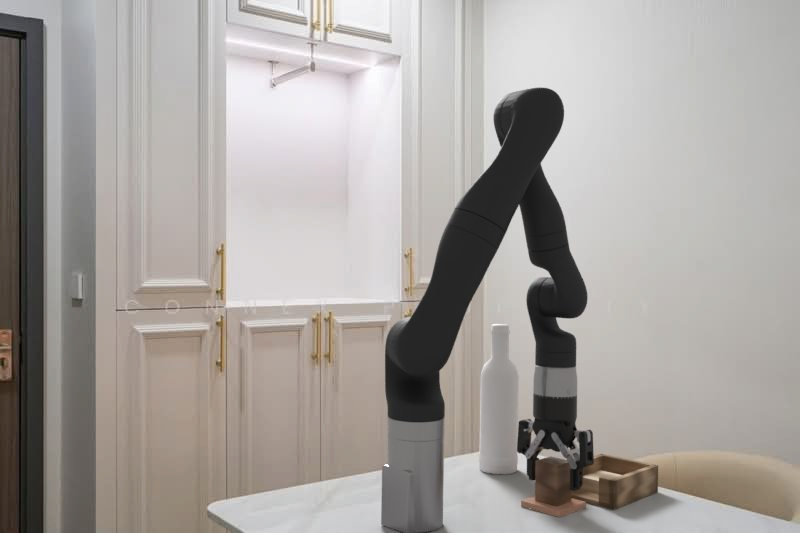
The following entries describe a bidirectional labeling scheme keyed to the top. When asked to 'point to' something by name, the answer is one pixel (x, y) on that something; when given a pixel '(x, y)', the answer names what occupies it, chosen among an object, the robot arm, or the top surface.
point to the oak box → (616, 482)
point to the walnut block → (552, 481)
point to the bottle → (499, 407)
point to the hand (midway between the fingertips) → (553, 484)
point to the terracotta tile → (554, 510)
